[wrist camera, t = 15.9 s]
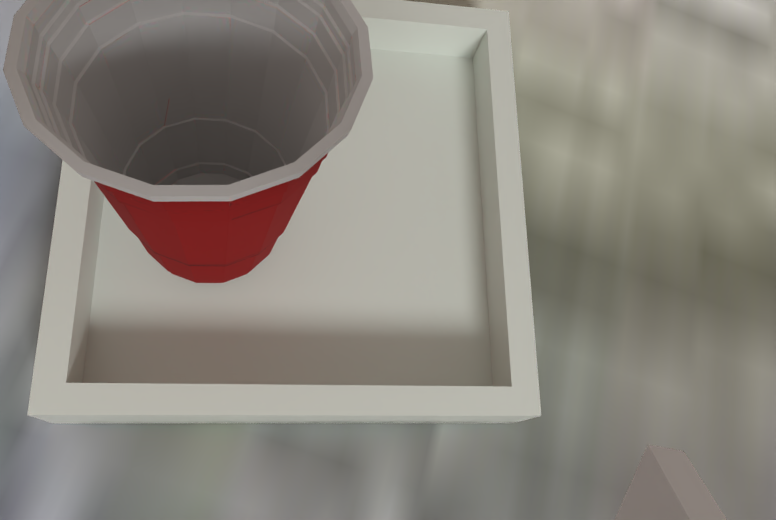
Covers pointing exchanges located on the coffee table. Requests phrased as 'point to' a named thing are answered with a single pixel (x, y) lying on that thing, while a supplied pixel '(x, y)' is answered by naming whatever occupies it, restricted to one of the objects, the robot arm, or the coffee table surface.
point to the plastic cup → (193, 112)
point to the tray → (327, 268)
